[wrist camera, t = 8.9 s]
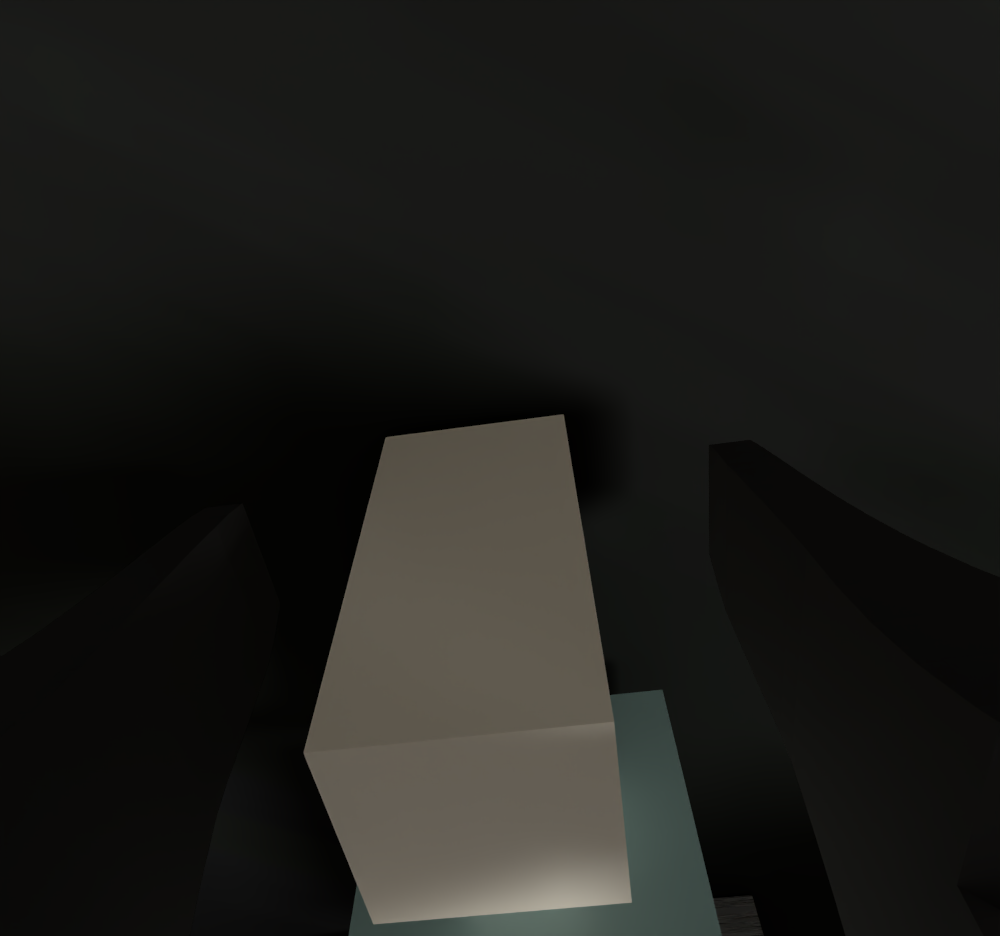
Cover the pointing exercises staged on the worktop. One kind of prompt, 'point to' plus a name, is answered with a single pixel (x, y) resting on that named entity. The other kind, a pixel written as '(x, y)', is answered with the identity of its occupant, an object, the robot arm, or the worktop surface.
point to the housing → (738, 916)
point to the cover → (494, 713)
